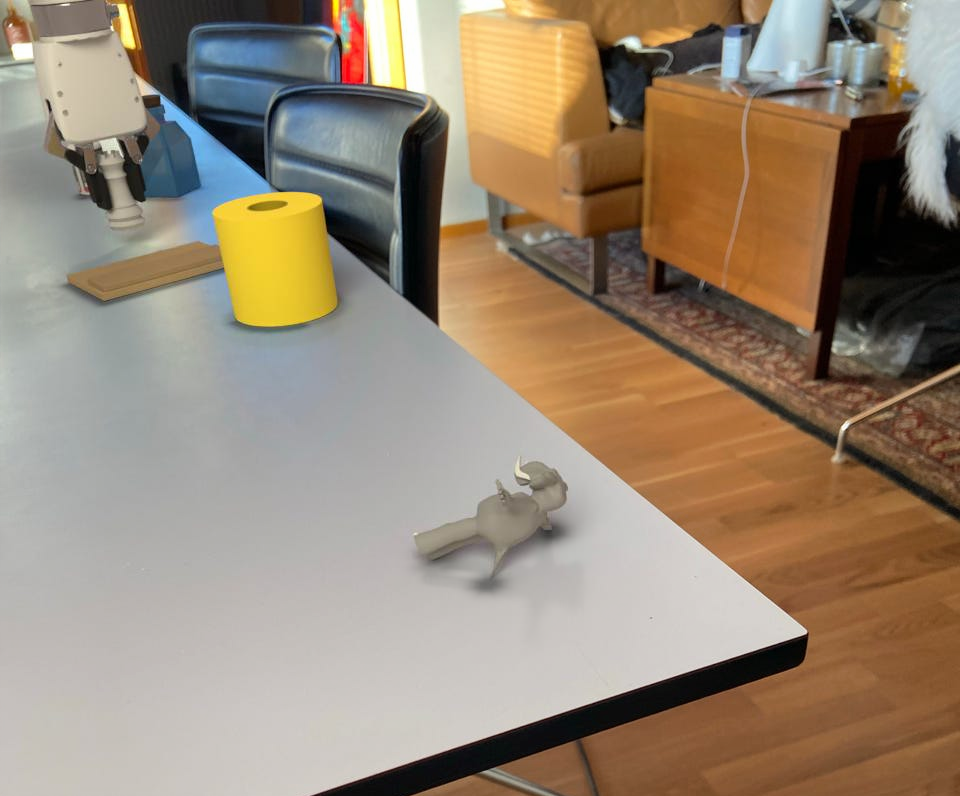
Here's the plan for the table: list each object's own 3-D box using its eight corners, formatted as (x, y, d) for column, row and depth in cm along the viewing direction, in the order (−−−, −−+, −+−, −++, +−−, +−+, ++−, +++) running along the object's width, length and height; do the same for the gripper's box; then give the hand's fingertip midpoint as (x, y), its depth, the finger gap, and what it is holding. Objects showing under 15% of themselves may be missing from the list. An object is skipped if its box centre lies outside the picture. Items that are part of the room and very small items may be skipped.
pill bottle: (120, 188, 148) (103, 125, 143) (96, 196, 145) (78, 132, 140) (96, 187, 150) (78, 124, 145) (72, 195, 146) (54, 131, 141)
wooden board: (104, 301, 105) (100, 287, 104) (68, 282, 111) (64, 269, 110) (241, 263, 112) (238, 250, 111) (200, 247, 119) (197, 235, 118)
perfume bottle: (177, 196, 141) (155, 100, 134) (140, 196, 143) (115, 101, 136) (201, 185, 145) (180, 91, 138) (164, 185, 147) (142, 92, 140)
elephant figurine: (439, 516, 64) (573, 465, 61) (465, 605, 63) (602, 558, 61) (372, 484, 55) (527, 423, 52) (401, 589, 54) (560, 532, 51)
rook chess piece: (144, 218, 122) (125, 146, 118) (148, 226, 119) (129, 152, 114) (106, 225, 121) (86, 152, 117) (110, 233, 118) (88, 159, 113)
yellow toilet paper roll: (234, 332, 94) (211, 226, 88) (234, 299, 102) (213, 200, 96) (342, 317, 95) (325, 212, 90) (333, 286, 103) (318, 187, 98)
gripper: (130, 10, 114) (172, 184, 125) (-18, 31, 106) (41, 215, 117) (159, 12, 109) (199, 193, 120) (6, 34, 101) (65, 226, 112)
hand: (121, 202), depth 119 cm, fingers closed on rook chess piece, 3 cm apart
